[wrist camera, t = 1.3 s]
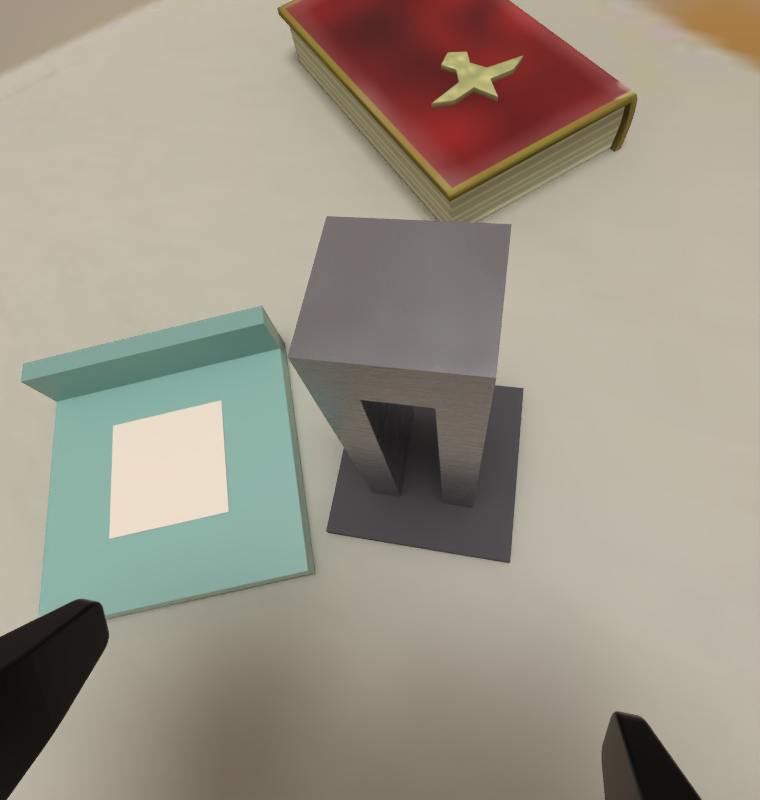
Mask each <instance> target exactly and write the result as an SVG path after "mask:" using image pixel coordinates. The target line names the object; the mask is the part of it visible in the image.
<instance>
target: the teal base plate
mask: <svg viewBox="0 0 760 800" xmlns="http://www.w3.org/2000/svg"><path fill="white" fill-rule="evenodd" d="M21 382H22V383H24V384H26V385H28V386H30V387H31V388H33V389H35V390H37V391H39V392H40V393H42V394H44V395H46V396H48V397H49V398H51V399H53V400H55V401H57V406H56V418H55V430H54V441H53V453H52V464H51V476H50V487H49V499H48V511H47V522H46V534H45V545H44V557H43V569H42V580H41V592H40V603H39V615H38V618H39V617H41V616H43V615H45V614H47V613H49V612H51V611H53V610H55V609H57V608H59V607H61V606H63V605H65V604H67V603H69V602H72V601H74V600H76V599H80V598H83V599H89V600H94V601H98V602H100V603H101V604H102V606H103V609H104V614H105V618H106V619H108V618H113V617H117V616H122V615H126V614H131V613H135V612H140V611H144V610H149V609H154V608H158V607H163V606H167V605H172V604H176V603H181V602H185V601H190V600H195V599H199V598H204V597H208V596H213V595H217V594H222V593H226V592H231V591H235V590H240V589H245V588H249V587H254V586H258V585H263V584H267V583H272V582H276V581H281V580H286V579H290V578H295V577H299V576H304V575H308V574H313V573H315V569H314V561H313V554H312V546H311V539H310V531H309V523H308V516H307V508H306V501H305V493H304V486H303V478H302V470H301V463H300V455H299V448H298V440H297V432H296V425H295V417H294V410H293V402H292V395H291V387H290V379H289V372H288V364H287V357H286V349H285V343H284V341H283V340H282V338H281V336H280V335H279V333H278V332H277V330H276V328H275V327H274V325H273V323H272V322H271V320H270V318H269V317H268V315H267V313H266V312H265V310H264V308H263V307H262V306H259V307H255V308H250V309H246V310H242V311H238V312H234V313H230V314H226V315H222V316H218V317H213V318H209V319H205V320H201V321H197V322H193V323H189V324H185V325H181V326H176V327H172V328H168V329H164V330H160V331H156V332H152V333H148V334H143V335H139V336H135V337H131V338H127V339H123V340H119V341H115V342H111V343H106V344H102V345H98V346H94V347H90V348H86V349H82V350H78V351H74V352H69V353H65V354H61V355H57V356H53V357H49V358H45V359H41V360H36V361H32V362H28V363H24V364H23V370H22V378H21Z"/></svg>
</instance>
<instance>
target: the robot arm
mask: <svg viewBox="0 0 760 800" xmlns="http://www.w3.org/2000/svg"><path fill="white" fill-rule="evenodd" d="M108 639H109V631H108V627H107V622H106V618H105V614H104V609H103V606H102V604H101V603H100V602H98V601H94V600H89V599H83V598H80V599H76V600H74V601H72V602H69V603H67V604H65V605H63V606H61V607H59V608H57V609H55V610H53V611H51V612H49V613H47V614H45V615H43V616H41V617H39V618H37V619H35V620H33V621H31V622H29V623H27V624H25V625H23V626H21V627H19V628H17V629H15V630H13V631H11V632H9V633H7V634H5V635H3V636H1V637H0V800H7V799H8V797H9V796H10V794H11V793H12V792H13V790H14V789H15V787H16V786H17V785H18V783H19V782H20V780H21V779H22V778H23V776H24V775H25V773H26V772H27V771H28V769H29V768H30V766H31V765H32V764H33V762H34V761H35V759H36V758H37V757H38V755H39V754H40V752H41V751H42V750H43V748H44V747H45V745H46V744H47V743H48V741H49V740H50V738H51V737H52V735H53V734H54V732H55V731H56V729H57V728H58V726H59V724H60V723H61V721H62V720H63V718H64V717H65V715H66V713H67V712H68V710H69V708H70V707H71V705H72V703H73V701H74V700H75V698H76V696H77V695H78V693H79V691H80V690H81V688H82V686H83V685H84V683H85V681H86V680H87V678H88V676H89V675H90V673H91V671H92V670H93V668H94V666H95V665H96V663H97V661H98V660H99V658H100V656H101V655H102V653H103V651H104V650H105V648H106V645H107V643H108ZM602 771H603V782H604V793H605V800H702V799H701V798H700V796H699V795H698V794H697V792H696V791H695V789H694V788H693V787H692V785H691V784H690V782H689V781H688V780H687V778H686V777H685V775H684V774H683V772H682V771H681V770H680V768H679V767H678V765H677V764H676V763H675V761H674V760H673V758H672V757H671V756H670V754H669V753H668V751H667V750H666V749H665V747H664V746H663V744H662V743H661V741H660V740H659V739H658V737H657V736H656V734H655V733H654V732H653V730H652V729H651V727H650V726H649V725H648V723H647V722H646V721H645V720H644V719H643V718H642V717H640V716H638V715H633V714H629V713H624V712H619V711H616V712H614V713H613V714H612V716H611V718H610V722H609V725H608V728H607V732H606V735H605V739H604V742H603V746H602Z"/></svg>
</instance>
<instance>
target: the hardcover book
mask: <svg viewBox="0 0 760 800" xmlns="http://www.w3.org/2000/svg"><path fill="white" fill-rule="evenodd" d="M277 9H278V12H279V15H280V16H281V17H282V18H283V19H284V20H285V22H286V23H287V24H288V25H289V26H290V29H291V33H292V36H293V40H294V44H295V48H296V51H297V55H298V59H299V61H300V62H301V64H302V65H303V66H304V67H305V68H306V69H307V70H308V72H309V73H310V74H311V75H312V76H313V77H314V78H315V80H316V81H317V82H318V83H319V84H320V85H321V86H322V88H323V89H324V90H325V91H326V92H327V93H328V94H329V96H330V97H331V98H332V99H333V100H334V101H335V103H336V104H337V105H338V106H339V107H340V108H341V109H342V111H343V112H344V113H345V114H346V115H347V116H348V117H349V119H350V120H351V121H352V122H353V123H354V124H355V125H356V127H357V128H358V129H359V130H360V131H361V132H362V133H363V135H364V136H365V137H366V138H367V139H368V140H369V142H370V143H371V144H372V145H373V146H374V147H375V148H376V150H377V151H378V152H379V153H380V154H381V155H382V156H383V158H384V159H385V160H386V161H387V162H388V163H389V164H390V166H391V167H392V168H393V169H394V170H395V171H396V172H397V174H398V175H399V176H400V177H401V178H402V179H403V181H404V182H405V183H406V184H407V185H408V186H409V187H410V189H411V190H412V191H413V192H414V193H415V194H416V195H417V197H418V198H419V199H420V200H421V201H422V202H423V203H424V205H425V206H426V207H427V208H428V209H429V210H430V211H431V213H432V214H433V215H434V216H435V217H436V218H437V220H438V221H444V222H467V223H477V222H478V221H480V220H482V219H484V218H486V217H487V216H489V215H491V214H493V213H494V212H496V211H498V210H500V209H502V208H503V207H505V206H507V205H509V204H511V203H512V202H514V201H516V200H518V199H520V198H521V197H523V196H525V195H527V194H529V193H530V192H532V191H534V190H536V189H537V188H539V187H541V186H543V185H545V184H546V183H548V182H550V181H552V180H554V179H555V178H557V177H559V176H561V175H563V174H564V173H566V172H568V171H570V170H571V169H573V168H575V167H577V166H579V165H580V164H582V163H584V162H586V161H588V160H589V159H591V158H593V157H595V156H597V155H598V154H600V153H602V152H604V151H606V150H607V149H609V148H610V149H612V150H613V151H614V152H615V151H617V150H619V149H620V148H621V145H622V143H623V141H624V139H625V137H626V135H627V132H628V130H629V127H630V125H631V122H632V119H633V115H634V112H635V108H636V103H637V95H636V94H635V93H634V92H633V91H631V90H630V89H629V88H627V87H626V86H625V85H623V84H622V83H621V82H619V81H618V80H616V79H615V78H614V77H612V76H611V75H610V74H608V73H607V72H606V71H604V70H603V69H602V68H600V67H599V66H598V65H596V64H595V63H593V62H592V61H591V60H589V59H588V58H587V57H585V56H584V55H583V54H581V53H580V52H579V51H577V50H576V49H574V48H573V47H572V46H570V45H569V44H568V43H566V42H565V41H564V40H562V39H561V38H560V37H558V36H557V35H555V34H554V33H553V32H551V31H550V30H549V29H547V28H546V27H545V26H543V25H542V24H541V23H539V22H538V21H537V20H535V19H534V18H532V17H531V16H530V15H528V14H527V13H526V12H524V11H523V10H522V9H520V8H519V7H518V6H516V5H515V4H513V3H512V2H511V1H509V0H293V1H291V2H289V3H287V4H285V5H283V6H281V7H279V8H277Z"/></svg>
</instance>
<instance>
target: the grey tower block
mask: <svg viewBox="0 0 760 800" xmlns="http://www.w3.org/2000/svg"><path fill="white" fill-rule="evenodd" d="M510 233H511V224H490V223H467V222H444V221H421V220H399V219H376V218H353V217H330V216H327V217H326V221H325V224H324V228H323V231H322V235H321V239H320V242H319V246H318V250H317V253H316V257H315V260H314V264H313V268H312V271H311V275H310V278H309V282H308V286H307V289H306V293H305V297H304V300H303V304H302V307H301V311H300V315H299V318H298V322H297V325H296V329H295V333H294V336H293V340H292V343H291V347H290V351H289V354H288V358H289V360H290V362H291V363H292V365H293V366H294V368H295V370H296V371H297V373H298V374H299V376H300V378H301V379H302V381H303V382H304V384H305V386H306V387H307V389H308V390H309V392H310V394H311V395H312V397H313V398H314V400H315V402H316V403H317V405H318V406H319V408H320V410H321V411H322V413H323V414H324V416H325V418H326V419H327V421H328V422H329V424H330V426H331V427H332V429H333V430H334V432H335V434H336V435H337V437H338V438H339V440H340V442H341V443H342V445H343V446H344V448H345V450H346V451H347V453H348V454H349V456H350V458H351V459H352V461H353V462H354V464H355V466H356V467H357V469H358V470H359V472H360V474H361V475H362V477H363V478H364V480H365V482H366V483H367V485H368V486H369V488H370V490H371V491H372V493H376V494H383V495H390V496H396V497H401V492H402V486H403V480H404V474H405V468H406V462H407V455H408V449H409V443H410V437H411V431H412V425H413V419H414V412H413V407H412V406H419V407H428V408H435V410H436V423H437V435H438V448H439V460H440V473H441V485H442V498H443V504H450V505H457V506H463V507H470V508H473V503H474V498H475V492H476V487H477V481H478V475H479V470H480V464H481V459H482V453H483V448H484V442H485V437H486V431H487V425H488V420H489V414H490V409H491V403H492V398H493V392H494V386H495V381H496V373H497V363H498V353H499V343H500V333H501V323H502V313H503V303H504V293H505V283H506V273H507V263H508V253H509V243H510Z"/></svg>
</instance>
